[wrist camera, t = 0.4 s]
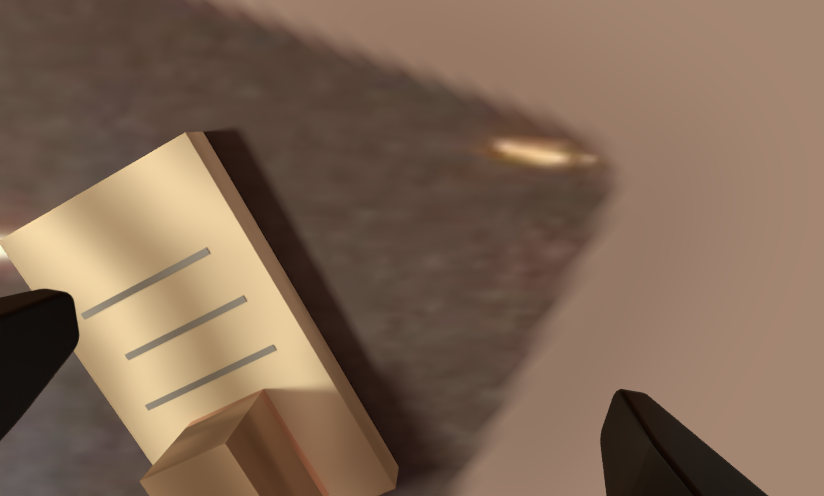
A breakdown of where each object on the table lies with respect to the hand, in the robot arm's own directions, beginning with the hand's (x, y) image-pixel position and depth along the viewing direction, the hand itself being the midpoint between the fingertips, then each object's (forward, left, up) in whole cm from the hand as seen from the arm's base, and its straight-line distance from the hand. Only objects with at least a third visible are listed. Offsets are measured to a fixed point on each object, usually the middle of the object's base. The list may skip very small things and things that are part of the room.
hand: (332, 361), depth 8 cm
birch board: (-11, -2, -14) cm, 18 cm away
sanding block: (-11, -7, -13) cm, 18 cm away
